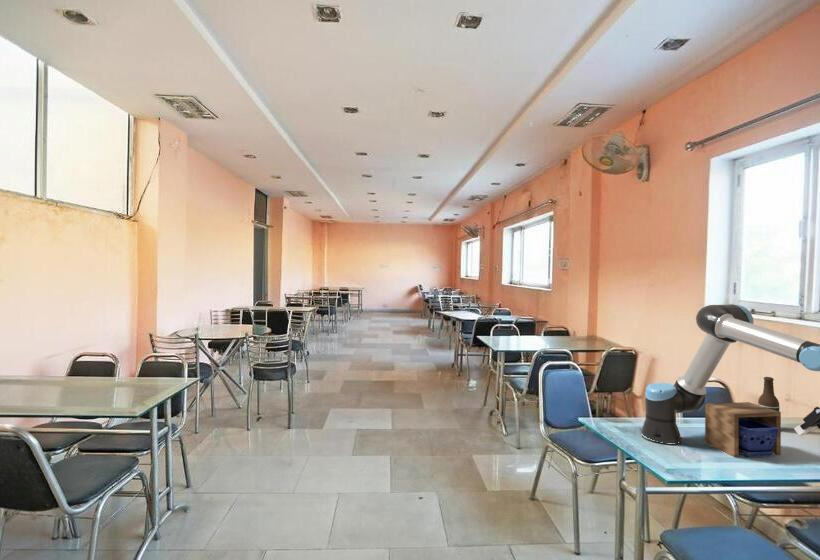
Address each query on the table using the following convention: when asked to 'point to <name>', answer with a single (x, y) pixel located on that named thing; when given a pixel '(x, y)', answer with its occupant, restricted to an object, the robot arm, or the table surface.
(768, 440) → the flower pot
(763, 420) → the shelf
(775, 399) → the beer bottle
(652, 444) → the table surface
